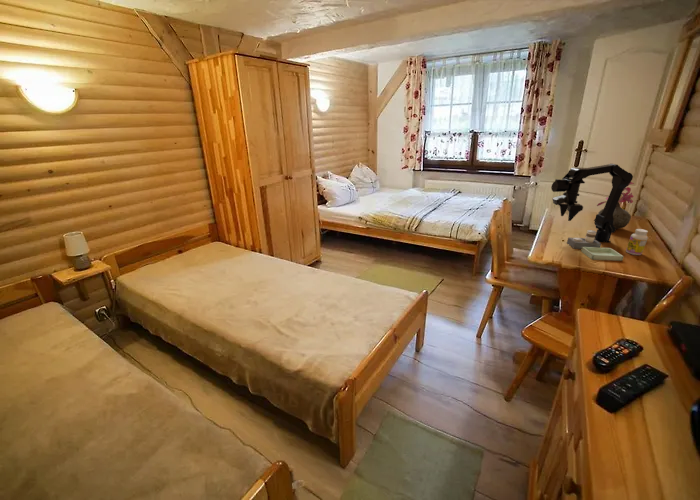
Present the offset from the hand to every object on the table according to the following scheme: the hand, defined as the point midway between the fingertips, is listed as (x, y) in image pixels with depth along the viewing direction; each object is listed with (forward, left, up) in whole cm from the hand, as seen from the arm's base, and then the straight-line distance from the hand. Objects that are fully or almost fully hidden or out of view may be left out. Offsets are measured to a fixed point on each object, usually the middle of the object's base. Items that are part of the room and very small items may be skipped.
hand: (565, 218), depth 182 cm
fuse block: (-8, +8, -14) cm, 18 cm away
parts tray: (-11, +21, -14) cm, 27 cm away
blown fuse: (-11, +8, -14) cm, 19 cm away
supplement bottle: (-30, +15, -14) cm, 36 cm away
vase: (-41, -27, -14) cm, 51 cm away
